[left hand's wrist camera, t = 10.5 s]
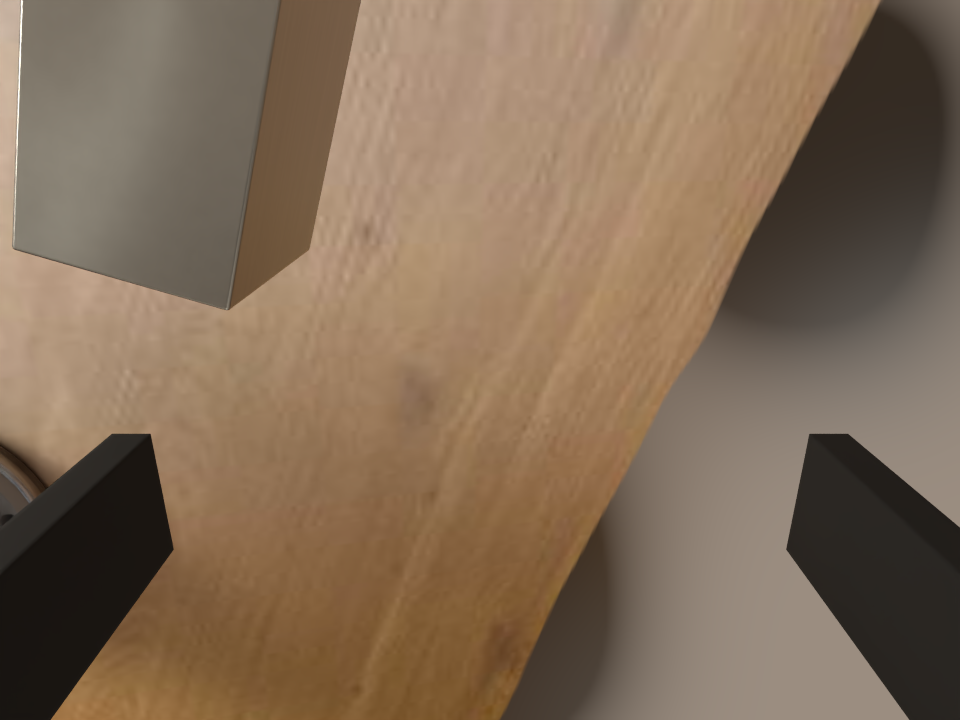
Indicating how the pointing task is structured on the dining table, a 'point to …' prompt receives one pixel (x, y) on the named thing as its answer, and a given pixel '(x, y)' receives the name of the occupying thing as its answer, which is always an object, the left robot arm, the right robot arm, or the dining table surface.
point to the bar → (176, 136)
